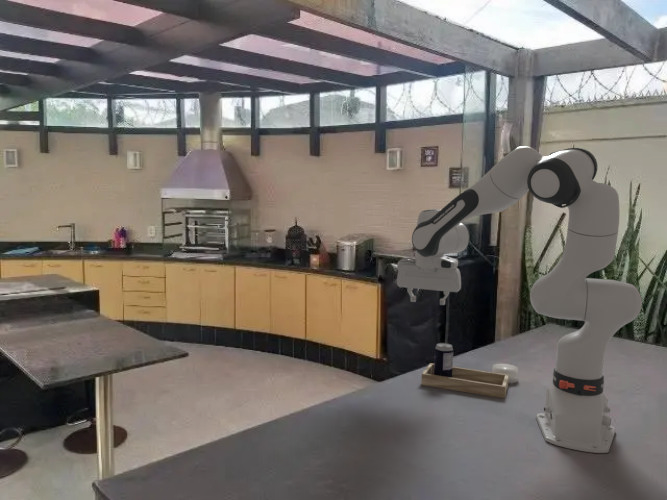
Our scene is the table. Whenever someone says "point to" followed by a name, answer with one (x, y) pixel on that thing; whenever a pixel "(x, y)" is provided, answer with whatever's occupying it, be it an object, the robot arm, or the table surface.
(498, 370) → the soap bar
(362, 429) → the table surface
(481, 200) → the robot arm
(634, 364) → the table surface
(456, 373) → the wooden tray
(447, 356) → the beverage can
